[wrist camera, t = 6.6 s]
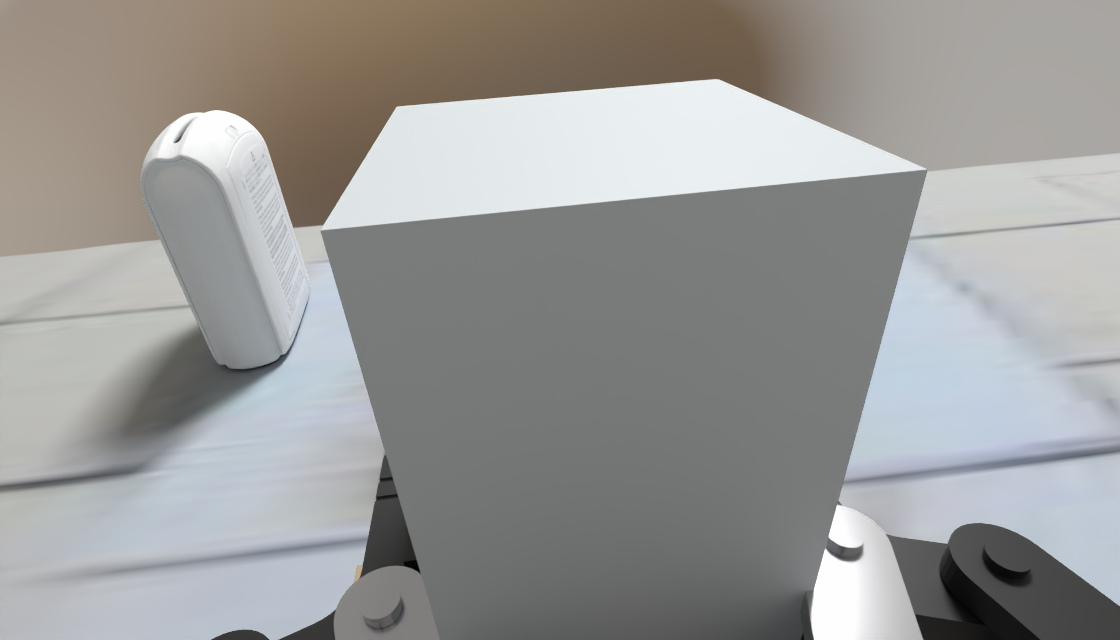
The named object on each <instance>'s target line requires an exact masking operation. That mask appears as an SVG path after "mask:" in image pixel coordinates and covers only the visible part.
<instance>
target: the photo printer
mask: <svg viewBox="0 0 1120 640" xmlns="http://www.w3.org/2000/svg"><path fill="white" fill-rule="evenodd" d="M140 189H141V195H142V198H143V201H144V204H145V206H146V208H147V211H148V213H149V215H150V217H151V219H152V222H153V224H154V226H155V228H156V231H157V233H158V235H159V238H160V240H161V242H162V245H163V247H164V249H165V251H166V254H167V256H168V258H169V260H170V262H171V265H172V267H173V269H174V272H175V274H176V276H177V278H178V281H179V283H180V285H181V287H182V289H183V292H184V294H185V296H186V299H187V301H188V303H189V305H190V307H191V310H192V312H193V314H194V316H195V319H196V321H197V323H198V325H199V327H200V330H201V332H202V334H203V336H204V338H205V341H206V343H207V345H208V347H209V349H210V352H211V354H212V355H213V357H214V359H215V360H216V362H217V363H218V364H219V365H227V367H229V368H232V369H249V368H255V367H259V366H263V365H266V364H269V363H271V362H274V361H276V360H277V359H278V358H279V357H280V355H283V354H285V353H286V352H287V351H288V349H289V348H290V346H291V344H292V343H293V340H294V338H295V335H296V332H297V330H298V327H299V324H300V322H301V319H302V316H303V313H304V310H305V307H306V304H307V301H308V297H309V292H310V283H309V277H308V273H307V270H306V267H305V264H304V261H303V258H302V255H301V252H300V249H299V246H298V242H297V239H296V236H295V233H294V230H293V227H292V224H291V221H290V218H289V215H288V211H287V208H286V205H285V202H284V199H283V196H282V193H281V189H280V186H279V183H278V180H277V177H276V174H275V171H274V167H273V164H272V161H271V158H270V155H269V152H268V149H267V146H266V144H265V141H264V140H263V138H262V136H261V135H260V133H259V132H258V131H257V130H256V129H255V128H254V127H253V126H252V125H251V124H250V123H249V122H247V121H246V120H244V119H242V118H241V117H239V116H237V115H235V114H232V113H228V112H225V111H219V110H217V111H215V110H214V111H209V112H206V113H191V114H187V115H184V116H182V117H180V118H179V119H177V120H176V121H174V122H173V123H172V124H170V125H169V126H168V127H167V128H166V129H165V130H164V131H163V132H162V133H161V134H160V135H159V136H158V138H157V139H156V140H155V141H154V143H153V144H152V146H151V148H150V149H149V151H148V153H147V155H146V157H145V160H144V163H143V166H142V171H141V178H140Z"/></svg>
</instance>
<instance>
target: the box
mask: <svg viewBox="0 0 1120 640" xmlns="http://www.w3.org/2000/svg"><path fill="white" fill-rule="evenodd" d="M926 173H927V169H925V168H923V167H921V166H918V165H916V164H914V163H911V162H909V161H907V160H904V159H902V158H900V157H897V156H895V155H893V154H891V153H888V152H886V151H883V150H881V149H879V148H876V147H874V146H871V145H870V144H867V143H865V142H862V141H860V140H858V139H855V138H853V137H851V136H849V135H846V134H844V133H842V132H839V131H837V130H835V129H832V128H830V127H828V126H825V125H823V124H821V123H818V122H816V121H814V120H811V119H809V118H807V117H804V116H802V115H800V114H798V113H795V112H793V111H791V110H788V109H786V108H784V107H781V106H779V105H777V104H774V103H772V102H769V101H767V100H765V99H763V98H760V97H758V96H755V95H753V94H751V93H749V92H746V91H744V90H742V89H739V88H737V87H735V86H732V85H730V84H728V83H725V82H723V81H721V80H718V79H713V80H702V81H690V82H678V83H667V84H656V85H644V86H632V87H620V88H608V89H597V90H586V91H573V92H562V93H550V94H540V95H528V96H515V97H504V98H492V99H481V100H470V101H457V102H446V103H434V104H422V105H411V106H399V107H396V109H395V111H394V112H393V114H392V115H391V117H390V119H389V121H388V122H387V124H386V125H385V127H384V128H383V130H382V132H381V133H380V135H379V136H378V138H377V140H376V141H375V143H374V145H373V146H372V148H371V150H370V151H369V153H368V154H367V156H366V158H365V159H364V161H363V162H362V164H361V166H360V167H359V169H358V170H357V172H356V174H355V175H354V177H353V179H352V180H351V182H350V183H349V185H348V187H347V188H346V190H345V192H344V193H343V195H342V196H341V198H340V200H339V201H338V203H337V204H336V206H335V208H334V209H333V211H332V213H331V214H330V216H329V217H328V219H327V221H326V222H325V224H324V225H323V227H322V229H321V230H320V231H321V234H322V237H323V241H324V244H325V248H326V251H327V255H328V258H329V261H330V265H331V268H332V272H333V275H334V278H335V282H336V285H337V289H338V292H339V296H340V299H341V302H342V306H343V309H344V313H345V316H346V319H347V323H348V326H349V330H350V333H351V337H352V340H353V343H354V347H355V350H356V354H357V357H358V361H359V364H360V367H361V371H362V374H363V378H364V381H365V384H366V388H367V391H368V395H369V398H370V402H371V405H372V408H373V412H374V415H375V419H376V422H377V426H378V429H379V432H380V436H381V439H382V443H383V446H384V449H385V453H386V456H387V460H388V463H389V467H390V470H391V473H392V477H393V480H394V484H395V487H396V490H397V494H398V497H399V501H400V504H401V508H402V511H403V514H404V518H405V521H406V525H407V528H408V532H409V535H410V538H411V542H412V545H413V549H414V552H415V555H416V559H417V562H418V566H419V569H420V573H421V576H422V579H423V583H424V586H425V590H426V593H427V597H428V600H429V603H430V607H431V610H432V614H433V617H434V620H435V624H436V627H437V631H438V634H439V638H440V640H801V637H802V633H803V629H802V622H801V616H800V610H801V606H802V603H803V599H804V595H805V591H809V590H814V589H815V585H816V581H817V577H818V574H819V570H820V566H821V563H822V559H823V555H824V552H825V548H826V544H827V540H828V537H829V533H830V529H831V526H832V522H833V518H834V514H835V511H836V507H837V503H838V500H839V496H840V492H841V488H842V485H843V481H844V477H845V474H846V470H847V466H848V463H849V459H850V455H851V451H852V448H853V444H854V440H855V437H856V433H857V429H858V425H859V422H860V418H861V414H862V411H863V407H864V403H865V400H866V396H867V392H868V388H869V385H870V381H871V377H872V374H873V370H874V366H875V362H876V359H877V355H878V351H879V348H880V344H881V340H882V336H883V333H884V329H885V325H886V322H887V318H888V314H889V311H890V307H891V303H892V299H893V296H894V292H895V288H896V285H897V281H898V277H899V273H900V270H901V266H902V262H903V259H904V255H905V251H906V248H907V244H908V240H909V236H910V233H911V229H912V225H913V222H914V218H915V214H916V210H917V207H918V203H919V199H920V196H921V192H922V188H923V184H924V181H925V177H926Z"/></svg>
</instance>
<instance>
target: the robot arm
mask: <svg viewBox="0 0 1120 640" xmlns="http://www.w3.org/2000/svg"><path fill="white" fill-rule="evenodd" d="M800 616H801V622H802V629H803V633H802V637H801V640H1120V606H1119V605H1117V604H1116V603H1114V602H1113V601H1112V600H1110V599H1109V598H1108V597H1106V596H1105V595H1104V594H1102V593H1101V592H1100V591H1098V590H1097V589H1095V588H1094V587H1093V586H1091V585H1090V584H1089V583H1087V582H1086V581H1085V580H1083V579H1082V578H1081V577H1079V576H1078V575H1077V574H1075V573H1074V572H1072V571H1071V570H1070V569H1068V568H1067V567H1066V566H1064V565H1063V564H1062V563H1060V562H1059V561H1058V560H1056V559H1055V558H1054V557H1052V556H1051V555H1049V554H1048V553H1047V552H1045V551H1044V550H1043V549H1041V548H1040V547H1039V546H1037V545H1036V544H1034V543H1033V542H1031V541H1030V540H1028V539H1027V538H1025V537H1023V536H1021V535H1019V534H1018V533H1015V532H1013V531H1011V530H1008V529H1005V528H1002V527H999V526H995V525H991V524H983V523H973V524H966V525H963V526H961V527H959V528H957V529H956V530H955V531H954V532H953V533H952V535H951V537H950V539H949V542H948V544H943V543H936V542H929V541H921V540H914V539H907V538H900V537H895V536H891V535H887V534H885V532H884V531H883V530H882V529H881V528H880V527H879V525H877V524H876V523H875V522H874V521H873V520H871V519H870V518H869V517H867V516H866V515H864V514H862V513H860V512H858V511H856V510H854V509H851V508H848V507H845V506H842V505H841V504H840V502H839V501H838V503H837V507H836V511H835V514H834V518H833V522H832V526H831V529H830V533H829V537H828V540H827V544H826V548H825V552H824V555H823V559H822V563H821V566H820V570H819V574H818V577H817V581H816V585H815V589H814V590H809V591H805V595H804V599H803V603H802V606H801V610H800ZM212 640H269V639H268V638H267V637H266V636H265V635H263V634H261V633H259V632H257V631H253V630H237V631H232V632H228V633H225V634H222V635H220V636H218V637H215V638H214V639H212ZM279 640H440V638H439V634H438V631H437V627H436V624H435V620H434V617H433V614H432V610H431V607H430V603H429V600H428V597H427V593H426V590H425V586H424V583H423V579H422V576H421V573H420V569H419V566H418V562H417V559H416V555H415V552H414V549H413V545H412V542H411V538H410V535H409V532H408V528H407V525H406V521H405V518H404V514H403V511H402V508H401V504H400V501H399V497H398V494H397V490H396V487H395V484H394V480H393V477H392V473H391V470H390V467H389V463H388V460H387V456H386V454H385V456H384V459H383V464H382V469H381V474H380V483H379V485H378V490H377V495H376V501H375V505H374V510H373V515H372V521H371V526H370V531H369V536H368V541H367V546H366V552H365V557H364V562H363V567H362V571H361V575H360V578H359V580H357V581H356V582H355V583H354V584H353V585H352V586H351V587H350V588H349V589H348V590H347V591H346V592H345V594H344V595H343V597H342V598H341V600H340V602H339V604H338V606H337V609H336V610H335V611H334V612H332V613H331V614H330V615H328V616H327V617H325V618H324V619H322V620H320V621H318V622H316V623H315V624H313V625H310V626H308V627H306V628H304V629H302V630H299V631H297V632H295V633H293V634H290V635H288V636H286V637H284V638H282V639H279Z"/></svg>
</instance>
